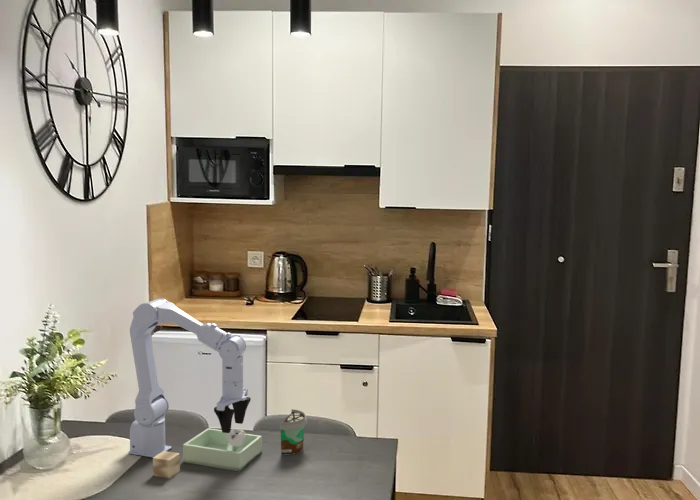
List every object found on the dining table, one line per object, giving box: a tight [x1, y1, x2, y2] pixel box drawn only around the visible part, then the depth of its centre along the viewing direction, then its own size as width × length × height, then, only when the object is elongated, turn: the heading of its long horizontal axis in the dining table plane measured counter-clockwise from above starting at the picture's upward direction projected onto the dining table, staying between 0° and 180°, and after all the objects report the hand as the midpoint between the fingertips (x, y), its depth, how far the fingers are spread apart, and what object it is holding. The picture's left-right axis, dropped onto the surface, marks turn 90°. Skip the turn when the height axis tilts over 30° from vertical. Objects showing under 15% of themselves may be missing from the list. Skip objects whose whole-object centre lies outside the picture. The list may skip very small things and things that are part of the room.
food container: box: [279, 408, 308, 455], centre depth 203 cm, size 12×6×10 cm, turn 168°
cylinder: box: [227, 428, 246, 452], centre depth 195 cm, size 5×5×7 cm
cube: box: [152, 450, 181, 479], centre depth 186 cm, size 5×5×5 cm
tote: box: [182, 427, 263, 472], centre depth 196 cm, size 18×14×5 cm
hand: (232, 427), depth 194 cm, fingers open, 7 cm apart
